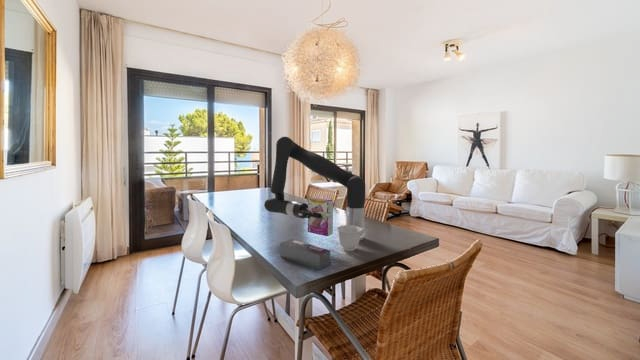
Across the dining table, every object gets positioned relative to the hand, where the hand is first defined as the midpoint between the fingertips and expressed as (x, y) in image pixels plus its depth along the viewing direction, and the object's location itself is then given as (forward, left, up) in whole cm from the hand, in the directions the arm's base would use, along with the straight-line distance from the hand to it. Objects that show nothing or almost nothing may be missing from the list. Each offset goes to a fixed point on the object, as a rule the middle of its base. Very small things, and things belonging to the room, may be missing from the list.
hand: (324, 214), depth 127 cm
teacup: (-12, +7, -18) cm, 23 cm away
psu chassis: (+13, -1, -17) cm, 22 cm away
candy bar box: (0, -3, -9) cm, 10 cm away
